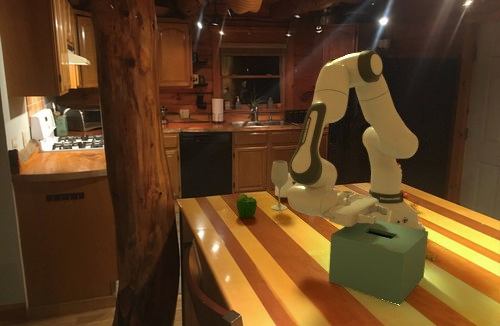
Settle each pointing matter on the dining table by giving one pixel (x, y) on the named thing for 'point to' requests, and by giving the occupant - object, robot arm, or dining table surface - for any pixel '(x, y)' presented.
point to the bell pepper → (246, 206)
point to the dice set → (432, 256)
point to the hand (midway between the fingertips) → (381, 216)
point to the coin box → (378, 259)
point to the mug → (284, 188)
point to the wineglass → (279, 179)
